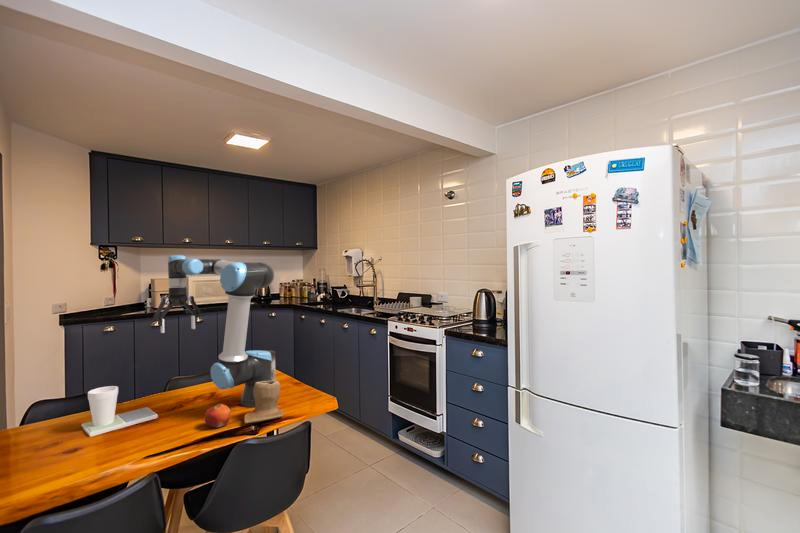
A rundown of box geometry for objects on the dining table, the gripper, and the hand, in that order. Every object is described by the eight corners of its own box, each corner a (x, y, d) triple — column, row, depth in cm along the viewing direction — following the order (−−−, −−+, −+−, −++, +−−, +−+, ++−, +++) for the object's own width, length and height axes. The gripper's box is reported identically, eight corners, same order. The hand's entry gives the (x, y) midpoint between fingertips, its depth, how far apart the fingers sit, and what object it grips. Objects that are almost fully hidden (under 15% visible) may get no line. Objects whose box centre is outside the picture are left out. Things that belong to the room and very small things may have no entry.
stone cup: (280, 410, 161) (279, 375, 161) (285, 420, 150) (284, 382, 150) (242, 417, 154) (241, 380, 154) (244, 428, 143) (244, 389, 143)
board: (157, 417, 155) (157, 414, 155) (90, 436, 138) (90, 432, 138) (146, 409, 164) (146, 406, 164) (81, 426, 147) (81, 423, 147)
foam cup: (123, 420, 148) (122, 388, 148) (95, 429, 140) (94, 395, 140) (112, 416, 153) (111, 384, 153) (84, 424, 145) (83, 391, 145)
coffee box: (258, 384, 196) (258, 354, 196) (254, 382, 201) (254, 352, 201) (275, 381, 202) (275, 351, 202) (271, 378, 207) (271, 349, 207)
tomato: (235, 423, 147) (235, 403, 147) (212, 432, 139) (212, 411, 139) (222, 418, 152) (222, 399, 152) (199, 427, 145) (199, 406, 145)
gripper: (201, 285, 193) (201, 326, 193) (145, 288, 174) (145, 333, 174) (207, 285, 188) (208, 327, 188) (150, 288, 169) (151, 335, 169)
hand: (178, 330), depth 181 cm, fingers open, 13 cm apart
